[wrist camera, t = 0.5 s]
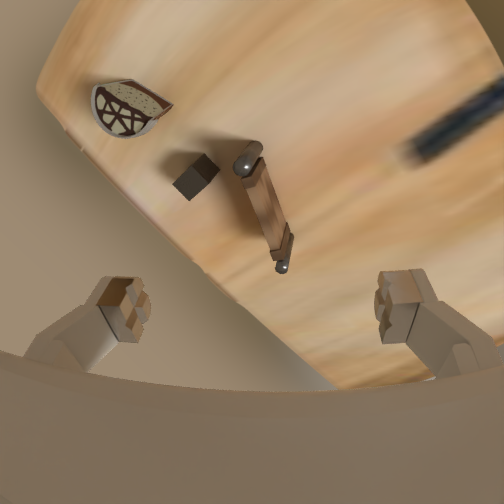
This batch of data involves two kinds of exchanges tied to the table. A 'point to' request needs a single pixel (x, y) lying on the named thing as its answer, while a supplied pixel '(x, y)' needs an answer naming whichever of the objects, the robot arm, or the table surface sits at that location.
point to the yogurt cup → (127, 108)
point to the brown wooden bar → (267, 208)
